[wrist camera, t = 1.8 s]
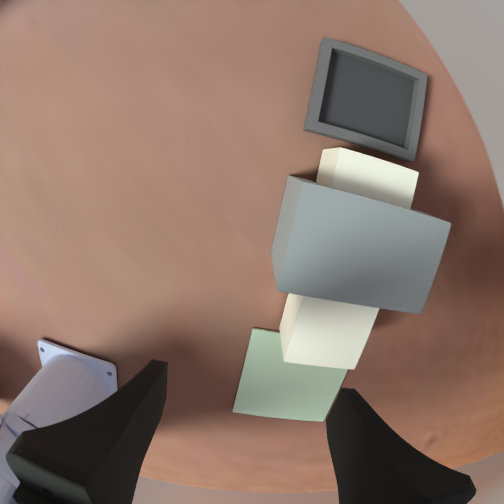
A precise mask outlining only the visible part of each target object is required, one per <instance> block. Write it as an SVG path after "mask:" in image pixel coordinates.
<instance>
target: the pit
mask: <svg viewBox="0 0 504 504" xmlns="http://www.w3.org/2000/svg"><path fill="white" fill-rule="evenodd" d="M426 84H427V74H425V73H423V72H420V71H418V70H416V69H414V68H411V67H409V66H407V65H404V64H402V63H400V62H397V61H395V60H392V59H390V58H387V57H384V56H382V55H379V54H376V53H374V52H371V51H368V50H365V49H362V48H359V47H356V46H353V45H350V44H347V43H344V42H340V41H337V40H334V39H330V38H326V37H324V38H323V39H322V41H321V43H320V49H319V54H318V59H317V65H316V70H315V75H314V80H313V85H312V90H311V95H310V100H309V105H308V110H307V115H306V120H305V125H304V130H303V131H308V132H312V133H316V134H320V135H323V136H327V137H331V138H335V139H338V140H342V141H345V142H349V143H352V144H356V145H359V146H362V147H366V148H369V149H372V150H375V151H378V152H381V153H385V154H388V155H391V156H394V157H396V158H399V159H402V160H405V161H410V162H414V161H415V156H416V151H417V145H418V140H419V134H420V128H421V122H422V115H423V108H424V101H425V93H426Z"/></svg>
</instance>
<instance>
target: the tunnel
mask: <svg viewBox="0 0 504 504" xmlns="http://www.w3.org/2000/svg"><path fill="white" fill-rule="evenodd" d="M450 227H451V223H450V222H447V221H445V220H442V219H440V218H437V217H434V216H432V215H429V214H426V213H424V212H421V211H418V210H416V209H413V208H410V209H407V208H404V207H401V206H397V205H394V204H390V203H387V202H383V201H380V200H376V199H373V198H369V197H365V196H362V195H358V194H354V193H350V192H346V191H343V190H339V189H335V188H331V187H327V186H323V185H321V184H318V183H316V182H313V181H310V180H308V179H303V178H299V177H295V176H290V175H288V177H287V182H286V187H285V191H284V196H283V200H282V205H281V209H280V214H279V219H278V223H277V228H276V232H275V237H274V241H273V245H272V250H271V257H272V263H273V270H274V276H275V282H276V288H277V291H279V292H285V293H290V294H296V295H302V296H307V297H313V298H319V299H325V300H331V301H337V302H343V303H349V304H355V305H362V306H368V307H375V308H381V309H388V310H394V311H401V312H408V313H415V314H421V313H422V310H423V308H424V305H425V303H426V300H427V297H428V295H429V292H430V289H431V287H432V284H433V281H434V278H435V275H436V272H437V270H438V267H439V264H440V260H441V257H442V254H443V251H444V248H445V244H446V241H447V238H448V234H449V231H450Z"/></svg>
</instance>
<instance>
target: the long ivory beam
mask: <svg viewBox="0 0 504 504" xmlns="http://www.w3.org/2000/svg"><path fill="white" fill-rule="evenodd" d="M418 174H419V172H417V171H414V170H411V169H408V168H405V167H403V166H400V165H397V164H394V163H391V162H388V161H385V160H381V159H378V158H375V157H372V156H369V155H365V154H362V153H359V152H355V151H352V150H348V149H345V148H341V147H339V148H331V149H324V150H323V151H322V156H321V161H320V165H319V170H318V174H317V179H316V183H318V184H321V185H323V186H327V187H331V188H335V189H339V190H343V191H346V192H350V193H354V194H358V195H362V196H365V197H369V198H373V199H376V200H380V201H383V202H387V203H390V204H394V205H397V206H401V207H404V208H407V209H410V208H411V204H412V200H413V196H414V192H415V188H416V183H417V179H418ZM378 311H379V308H375V307H368V306H362V305H355V304H349V303H343V302H337V301H331V300H325V299H319V298H313V297H307V296H302V295H296V294H290V293H289V294H288V298H287V301H286V305H285V309H284V312H283V316H282V320H281V323H280V327H279V329H280V337H281V344H282V352H283V359H284V362H289V363H296V364H304V365H313V366H322V367H331V368H342V369H353V370H354V369H355V367H356V365H357V363H358V360H359V358H360V356H361V353H362V351H363V349H364V346H365V344H366V341H367V339H368V337H369V334H370V332H371V329H372V326H373V324H374V321H375V319H376V316H377V313H378Z"/></svg>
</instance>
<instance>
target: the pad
mask: <svg viewBox="0 0 504 504" xmlns="http://www.w3.org/2000/svg"><path fill="white" fill-rule="evenodd" d="M347 371H348V369H342V368H331V367H322V366H313V365H304V364H296V363H289V362H284V359H283V352H282V344H281V337H280V332H277V331H271V330H265V329H259V328H253V329H252V333H251V337H250V341H249V345H248V350H247V354H246V358H245V362H244V366H243V370H242V374H241V378H240V383H239V387H238V391H237V395H236V399H235V403H234V407H233V412H235V413H242V414H249V415H256V416H264V417H273V418H282V419H293V420H305V421H321V422H323V421H324V419H325V417H326V415H327V413H328V411H329V409H330V407H331V405H332V403H333V401H334V399H335V397H336V395H337V393H338V391H339V388H340V386H341V384H342V382H343V380H344V377H345V375H346V373H347Z"/></svg>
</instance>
